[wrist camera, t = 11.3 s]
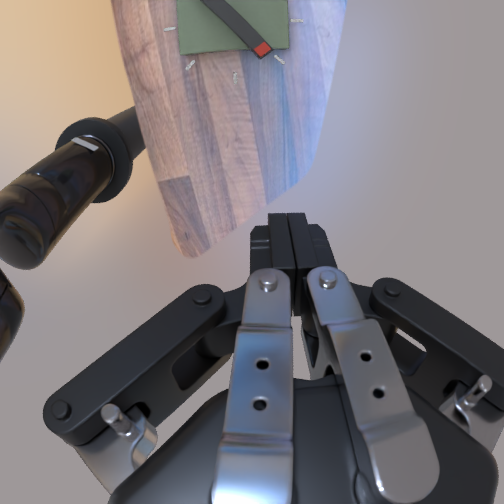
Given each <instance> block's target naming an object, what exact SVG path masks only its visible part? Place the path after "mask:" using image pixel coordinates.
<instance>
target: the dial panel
mask: <svg viewBox="0 0 504 504" xmlns="http://www.w3.org/2000/svg"><path fill="white" fill-rule="evenodd" d="M225 1H226V2H227V3H228V4H229V5H231V6H232V7H233V8H234V9H235V10H236V11H237V12H238V13H239V14H240V15H241V16H242V17H243V18H244V19H245V20H246V21H247V22H248V23H249V24H250V25H251V26H252V27H253V28H254V29H255V30H256V31H257V32H258V33H259V34H260V36H261V37H262V38H263V39H264V40H265V41H266V42H267V43H268V44H269V45H270V46H271V47H272V49H284V50H286V49H289V25H288V1H287V0H225ZM177 18H178V34H179V48H180V55H194V54H202V53H212V52H223V51H238V50H250V49H249V48H248V47H247V46H246V45H245V44H244V43H243V42H242V40H241V39H240V38H239V37H238V36H237V35H236V34H235V33H234V32H233V31H232V30H231V29H230V28H229V27H228V26H227V25H226V24H225V23H224V22H222V21H221V20H220V19H219V18H218V17H217V16H216V15H215V14H214V13H213V12H212V11H211V10H210V9H209V8H208V7H206V6H205V5H204V4H203V3H202V2H201V1H200V0H177ZM290 22H303V19H290ZM175 29H176V27H170V28H164V31H170V30H175ZM274 57H275V58H276V59H277V60H278V61H279V62H280V63H281V64H282V65H283V64H285V62H284V61H283V60H282V59H280V58H279V57H278V56H277V55H275V56H274ZM195 62H196V61H195V60H192V62H191V63H190V64H189V65H188V66H187V67H186V68H185V69H186V70H187V71H188V70H189V69H190V67H191V66H192V65H193V64H194V63H195ZM233 73H234V84H237V72H233Z"/></svg>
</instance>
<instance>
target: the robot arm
mask: <svg viewBox="0 0 504 504" xmlns="http://www.w3.org/2000/svg"><path fill="white" fill-rule="evenodd" d="M115 168H116V164H115V158H114V154H113V152H112V150H111V148H110V147H109V145H108V144H107V143H106V142H105V141H104V140H103V139H101V138H100V137H98V136H95V135H91V134H83V135H80V136H77V137H76V138H74V139H72V140H71V141H70V142H69V143H67V144H65V145H64V146H62V147H60V148H59V149H57V150H56V151H54V152H53V153H51V154H50V155H48V156H47V157H45V158H44V159H42V160H41V161H39V162H38V163H37V164H35V165H34V166H32V167H31V168H30V169H28V170H27V171H25V172H24V173H23V174H21V175H20V176H19V177H18V178H16V179H15V180H14V181H13V182H11V183H10V184H9V185H7V186H6V187H5V188H4V189H2V190H1V191H0V259H1V260H3V261H4V262H6V263H7V264H9V265H11V266H13V267H15V268H18V269H23V270H30V269H34V268H36V267H38V266H39V265H40V264H41V263H42V262H43V261H44V260H45V259H46V257H47V256H48V255H49V253H50V252H51V251H52V249H53V248H54V247H55V246H56V244H57V243H58V242H59V240H60V239H61V238H62V237H63V235H64V234H65V233H66V232H67V230H68V229H69V228H70V226H71V225H72V224H73V223H74V222H75V221H76V219H77V218H78V217H79V216H80V215H81V213H82V212H83V211H84V210H85V209H86V208H87V207H88V206H89V204H90V203H91V202H92V201H93V200H94V199H95V198H96V197H97V196H98V195H99V193H100V192H101V191H102V190H103V189H105V188H106V187H107V186H108V185H109V184H110V182H111V181H112V179H113V177H114V174H115ZM292 311H293V314H294V316H301V320H302V326H301V336H302V341H303V345H304V349H305V354H306V358H307V362H308V367H309V371H310V379H311V380H303V379H296V378H293V330H292V327H291V317H292ZM24 312H25V307H24V301H23V299H22V298H21V296H20V294H19V293H18V291H17V290H16V289H15V287H14V286H13V285H12V283H11V282H10V281H9V279H7V277H6V275H5V274H4V273H3V271H2V270H1V269H0V362H1V360H2V359H3V357H4V355H5V353H6V352H7V350H8V349H9V347H10V345H11V344H12V342H13V340H14V338H15V336H16V334H17V332H18V330H19V328H20V325H21V323H22V320H23V317H24ZM398 328H399V329H401V330H402V331H403V332H405V333H406V334H408V335H409V336H410V337H412V338H413V339H415V340H416V341H418V342H419V343H421V344H422V345H423V346H424V347H425V349H426V351H427V352H424V351H422V350H421V349H419V348H418V347H416V346H415V345H413V344H412V343H411V342H409V341H408V340H406V339H405V338H404V337H402V336H401V335H399V334H398V333H396V331H397V329H398ZM232 353H234V356H233V362H232V370H231V377H230V384H229V389H226V390H224V391H222V392H220V393H218V394H217V395H215V396H213V397H211V398H210V399H209V400H208V401H206V402H205V403H204V404H203V405H202V406H201V407H200V408H199V409H198V410H197V411H196V412H195V413H194V414H193V415H192V416H191V417H190V418H189V419H188V421H186V422H185V423H184V424H183V425H182V426H181V427H180V428H179V429H178V430H177V431H176V432H175V433H174V434H173V435H172V436H171V437H170V438H169V439H168V440H167V441H166V442H165V443H164V444H163V445H162V446H161V447H160V448H159V449H158V450H157V451H156V452H155V453H154V454H152V455H151V456H150V457H149V458H148V459H147V457H148V455H149V454H150V453H151V451H152V450H153V449H154V448H155V446H156V443H157V439H158V436H157V431H156V429H155V428H156V427H157V426H158V425H159V424H160V423H162V422H163V420H165V419H166V418H167V417H168V416H169V415H171V414H172V413H173V412H174V411H175V410H176V409H177V408H178V407H179V406H180V405H182V404H183V403H184V402H185V401H186V400H187V399H188V398H189V397H190V396H191V395H192V394H193V393H194V392H196V391H197V390H198V389H199V388H200V387H201V386H202V385H203V384H204V383H205V382H206V381H207V380H208V379H209V378H210V377H211V376H212V375H213V374H215V373H216V371H218V369H220V368H221V367H222V366H223V365H224V364H225V363H226V362H227V361H228V360H229V359H230V357H231V355H232ZM43 419H44V422H45V424H46V426H47V427H48V428H49V429H50V430H51V431H52V432H53V433H55V434H56V435H57V436H59V437H60V438H62V439H63V440H64V441H65V442H66V443H67V444H69V445H70V446H72V447H73V448H74V449H75V450H76V451H77V453H78V454H79V455H80V457H81V458H82V460H83V461H84V463H85V464H86V465H87V466H88V468H89V469H90V470H91V472H92V473H93V474H94V476H95V477H96V478H97V479H98V480H99V482H100V483H101V484H102V485H103V487H104V488H105V489H106V490H107V491H108V493H109V494H110V495H111V496H110V499H109V501H108V504H493V503H494V498H495V494H496V490H497V486H498V478H499V475H498V467H497V463H496V460H495V458H494V456H493V455H492V451H493V449H494V447H495V445H496V443H497V441H498V439H499V436H500V434H501V432H502V430H503V427H504V349H503V348H501V347H500V346H498V345H497V344H496V343H494V342H493V341H491V340H490V339H489V338H487V337H486V336H484V335H483V334H481V333H480V332H478V331H477V330H475V329H474V328H472V327H471V326H470V325H468V324H467V323H465V322H464V321H462V320H461V319H459V318H457V317H456V316H455V315H453V314H452V313H450V312H449V311H447V310H445V309H444V308H442V307H441V306H439V305H438V304H436V303H434V302H433V301H431V300H430V299H428V298H427V297H425V296H424V295H422V294H421V293H419V292H417V291H416V290H414V289H413V288H411V287H409V286H408V285H406V284H405V283H403V282H401V281H399V280H397V279H394V278H381V279H378V280H377V281H376V282H375V283H374V284H373V287H367V286H362V285H357V284H354V283H352V282H349V280H348V278H347V276H346V274H345V273H344V272H342V271H341V270H339V269H338V268H337V265H336V262H335V259H334V256H333V253H332V250H331V247H330V244H329V242H328V240H327V236H326V233H325V231H324V230H323V229H322V228H321V227H320V226H319V225H318V224H308V223H307V219H306V216H305V213H287V214H286V213H268V225H266V226H265V225H264V226H255V227H254V229H253V230H252V231H251V233H250V276H249V277H248V279H247V282H246V283H245V284H244V285H243V286H241V287H239V288H237V289H235V290H232V291H228V292H224V293H223V291H222V290H221V289H220V288H218V287H217V286H214V285H210V284H201V285H197V286H194V287H192V288H190V289H189V290H187V291H185V292H184V293H183V294H182V295H180V296H179V297H178V298H176V299H175V300H174V301H172V302H171V303H170V304H168V305H167V306H166V307H165V308H163V309H162V310H161V311H159V312H158V313H157V314H155V315H154V316H153V317H151V318H150V319H149V320H148V321H146V322H145V323H144V324H142V325H141V326H140V327H139V328H137V329H136V330H135V331H133V332H132V333H131V334H130V335H128V336H127V337H126V338H124V339H123V340H122V341H120V342H119V343H118V344H116V345H115V346H114V347H113V348H111V349H110V350H109V351H107V352H106V353H105V354H104V355H102V356H101V357H100V358H98V359H97V360H96V361H95V362H93V363H92V364H91V365H89V366H88V367H87V368H86V369H84V370H83V371H82V372H80V373H79V374H78V375H77V376H75V377H74V378H73V379H72V380H70V381H69V382H68V383H66V384H65V385H64V386H62V387H61V388H60V389H59V390H58V391H56V392H55V393H54V394H52V395H51V396H50V397H49V398H48V400H47V401H46V403H45V405H44V409H43Z"/></svg>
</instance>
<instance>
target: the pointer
mask: <svg viewBox="0 0 504 504" xmlns="http://www.w3.org/2000/svg"><path fill="white" fill-rule="evenodd" d="M200 1H201V2H202V3H203V4H204V5H205V6H206V7H208V8H209V9H210V10H211V11H212V12H213V13H214V14H215V15H216V16H217V17H218V18H219V19H220V20H221V21H222V22H224V23H225V24H226V25H227V26H228V27H229V28H230V29H231V30H232V31H233V32H234V33H235V34H236V35H237V36H238V37H239V38H240V39H241V40H242V42H243V43H244V44H245V45H246V46H247V47H248V48H249V49H250V50H251V51H252V52H253V53H254V54H255V55H256V56H257V57H258V59H262V58H263V57H264V56H266V55H267V54H269V53H270V52H271V51H273V49H272V47H271V46H270V45H269V44H268V43H267V42H266V41H265V40H264V39H263V38H262V37H261V36H260V34H259V33H258V32H257V31H256V30H255V29H254V28H253V27H252V26H251V25H250V24H249V23H248V22H247V21H246V20H245V19H244V18H243V17H242V16H241V15H240V14H239V13H238V12H237V11H236V10H235V9H234V8H233V7H232V6H231V5H229V4H228V3H227V2H226V1H225V0H200Z"/></svg>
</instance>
